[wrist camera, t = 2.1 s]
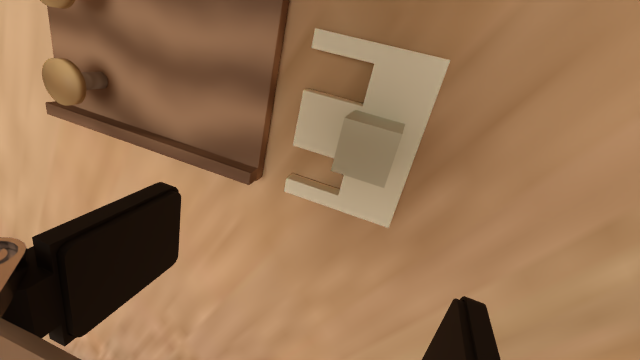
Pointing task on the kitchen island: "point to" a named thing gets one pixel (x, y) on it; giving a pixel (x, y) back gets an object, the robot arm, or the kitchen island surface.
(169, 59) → the board
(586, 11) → the kitchen island surface
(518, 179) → the kitchen island surface
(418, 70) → the panel
